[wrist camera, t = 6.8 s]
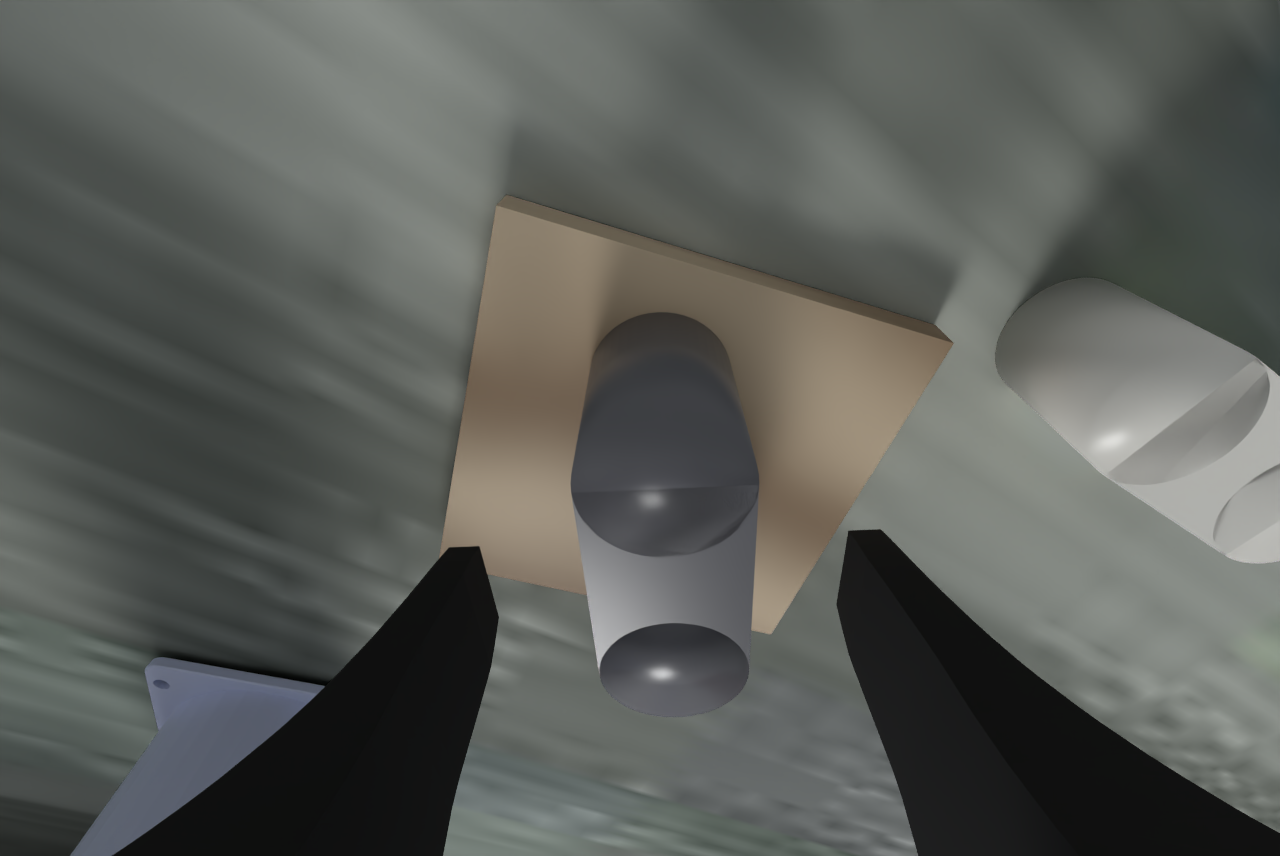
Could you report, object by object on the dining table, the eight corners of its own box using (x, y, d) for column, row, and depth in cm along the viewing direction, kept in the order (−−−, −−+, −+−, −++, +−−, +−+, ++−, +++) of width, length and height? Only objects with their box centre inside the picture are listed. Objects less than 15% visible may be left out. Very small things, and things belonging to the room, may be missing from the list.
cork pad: (765, 608, 19) (770, 634, 18) (448, 539, 18) (438, 563, 17) (935, 325, 14) (953, 343, 13) (506, 194, 12) (496, 205, 12)
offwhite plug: (968, 358, 14) (1053, 441, 11) (1074, 251, 13) (1205, 314, 10) (1190, 509, 17) (1310, 611, 14) (1300, 433, 15) (1460, 527, 12)
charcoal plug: (582, 316, 13) (558, 412, 9) (732, 308, 13) (764, 402, 9) (620, 637, 18) (614, 770, 15) (726, 634, 18) (743, 768, 15)
